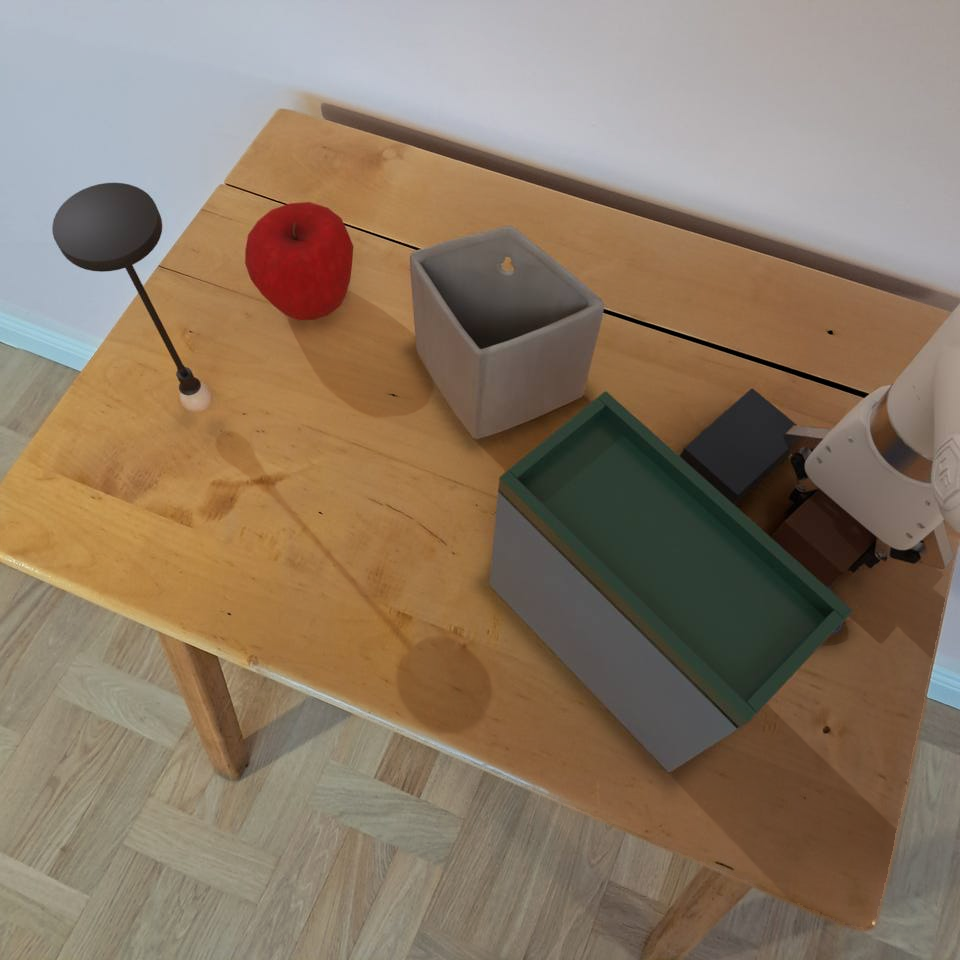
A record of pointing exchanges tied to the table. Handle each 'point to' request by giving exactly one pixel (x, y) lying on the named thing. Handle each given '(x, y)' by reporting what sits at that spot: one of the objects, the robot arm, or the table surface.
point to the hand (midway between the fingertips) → (829, 531)
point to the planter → (502, 328)
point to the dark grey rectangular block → (740, 446)
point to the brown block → (823, 537)
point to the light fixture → (121, 253)
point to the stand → (600, 645)
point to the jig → (674, 557)
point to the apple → (300, 259)
